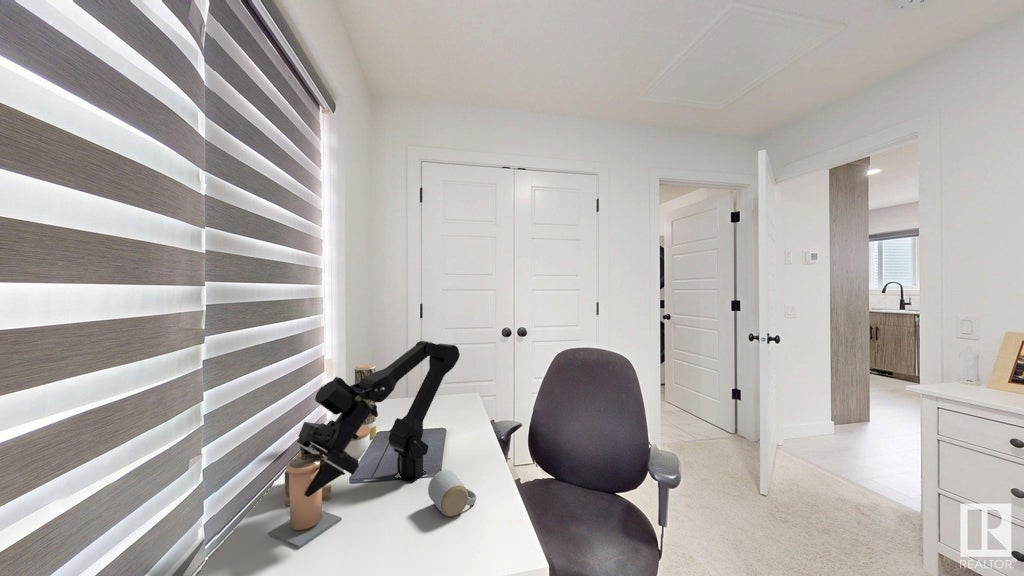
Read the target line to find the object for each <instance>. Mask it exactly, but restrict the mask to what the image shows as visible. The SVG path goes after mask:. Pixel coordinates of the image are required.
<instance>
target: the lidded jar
mask: <svg viewBox="0 0 1024 576" xmlns="http://www.w3.org/2000/svg"><path fill="white" fill-rule="evenodd" d="M356 435H358V438H357V439H356V440H355V439H352V440H351V441H350V443H349V444H348V446H347V447H346V449H345V450H344V451H345V452H347V454H348V455H350V456H351V457H353V458H355V459H356V460H358V459H359V458H361V457H363V455H364V453H365V452H366V451H367V449H368V447H369V444H370V442H371V441H370V440H371V439H370V427H368V426H365V425H362V426H361V427H360V429H359V430H358V432H357V433H356Z"/></svg>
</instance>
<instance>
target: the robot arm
mask: <svg viewBox="0 0 1024 576" xmlns="http://www.w3.org/2000/svg"><path fill="white" fill-rule="evenodd" d="M428 357H429V359H428V362H429V363H428V364H429V368H428V370H427V373H426V375H425V376H424V378H423V380H422V383H421V384H420V387H419V389H418V390H417V393H416V395H415V397H414V399H413V401H412V404H411V405H410V407H409V409H408V411H407V414H406V415H404V416H403V417H402V418H399V417H397V418H396V419H395V420H394V423H393V425H392V427H391V429H390V430H389V431H388V433H389V436H388V443H389V445H390V447H391V448H393V451H394V453H398V454H397V459H396V461H397V463H396V464H397V465H396V466H397V467H396V469H397V474H398V473H399V474H400V476H401V478H400V477H398V478H400V479H399V480H400V481H404V482H408V483H414V482H415V481H417V480H418V479H420V478H421V477H422V476H423V475H422V474H423V473H424V472H426V471H424V470H423V469H424V456H425V455H427V454H428V450H429V445H428V444H427V443H426V442H424V441H423V440H422V437H423V435H424V420H425V418H426V416H427V414H428V412H429V409H430V407H431V405H432V402H433V401H434V399H435V396H436V394H437V392H438V390H439V388H440V386H441V383H442V381H443V379H444V377H445V375H446V374H448V373H449V372H451V370H452V369H454V368H455V366H456V364H457V362H458V360H459V358H460V349H459V347H457V346H456V345H454V344H450V343H449V344H448V343H447V344H446V343H433V342H431V341H426V340H425V341H424V340H419V341H418V342H416V344H415V345H414V346H413V347H411V348H410V349H408V351H406V352H405V353H404V354H402V355H401V356H399V358H397V359H396V360H394V361H393V362H392V363H390V364H389V365H388V366H387V367H385V368H383V369H380V370H377V371H376V372H374V373H372V374H370V375H368V376H366V377H364V378H363V379H362V380H361V381H360V382H359V383H356V384H355V383H354V384H352V385H348V384H347V383H346V381H345V380H344V379H343V378H341V377H339V376H334V378H333V380H331V381H329V382H327V383H326V384H324V385H323V386H321V387H320V388H319V390H318V391H317V392H316V394H315V397H314V400H315V402H316V403H317V404H319V405H320V406H322V407H323V408H325V409H326V410H328V411H329V412H330V413H331V414H333V415H335V416H336V415H339V416H338V417H337V418H336V420H332V419H331V420H329V421H328V422H327V423H323V422H322V423H314V422H308V421H304V422H303V424H302V426H301V429H300V430H299V431H300V432H299V434H298V440H297V441H296V443H298V444H299V445H301V446H299V450H301V454H302V456H303V455H307V454H321V455H323V456H324V457H326V460H327V461H326V460H325V459H324V460H322V459H321V458H320V469H319V471H318V472H317V474H316V475H315V477H314V479H313V480H312V482H311V483H310V485H309V487H308V488H307V490H306V492H305V494H304V495H305V496H307V497H309V496H311V495H312V494H314V493H315V492H316V491H318V490H319V489H321V488H322V487H324V486H325V485H329V484H330V483H331V482H333V481H334V480H336V479H337V478H339V477H340V476H345V475H346V473H345V472H347V473H349V474H351V475H352V476H354V474H355V473H356V471H357V470H358V468H359V465H360V464H359V460H358V459H355V458H353V457H351V456H350V455H348V454H347V452H345V451H344V450H345V449H346V447H347V446H348V444H349V443H350V441H351V440H352V439H355V440H356V439H357V438H358V435H356V433H357V432H358V430H359V429H360V427H361V426H362V424H363V423H364V422H365V420H366V419H367V417H368V416H369V415H371V416H374V417H376V418H378V416H379V413H378V406H377V404H376V405H373V404H371V405H369V404H368V403H367V402H365V401H364V400H359V401H358V400H356V399H355V398H356V397H359V398H362V399H365V400H369V401H372V402H376V403H382V402H384V401H385V400H386V399H387V398H388V397H389V396H390V395H391V393H393V391H394V390H395V388H396V385H397V383H399V381H400V380H401V379H402V378H404V377H405V376H406V375H407V374H408V373H410V372H411V371H412V370H413V369H414V368H416V367H417V366H418V365H419V364H421V363H422V362H423V361H424V360H426V359H427V358H428ZM423 471H424V472H423ZM426 473H427V472H426ZM421 475H422V476H421ZM420 476H421V477H420Z"/></svg>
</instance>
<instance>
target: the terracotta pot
mask: <svg viewBox="0 0 1024 576" xmlns="http://www.w3.org/2000/svg"><path fill="white" fill-rule="evenodd" d="M295 457H296V456H295ZM295 457H294V458H292V459H290V460H289V461H288V462H287V463H286V465H285V466H286V467H285V471H287V473H289V492H290V505H289V520H290V527H291V528H292V529H295V530H302V529H307V528H309V527H312V526H314V525H316V524H317V523H318V522H320V520H321V519H322V517H323V513H322V510H323V500H322V488H321V489H319V490H318V491H316V492H315V493H314V494H312V495H311V496H309V497H307V496H305V495H304V494H305V492H306V490H307V488H308V487H309V485H310V483H311V482H312V480H313V479H314V477H315V475H316V474H317V472H318V471H319V469H320V458H321V459H322V460H324V461H325V456H324V455H321V454H307V455H303V456H299V457H296V458H295Z"/></svg>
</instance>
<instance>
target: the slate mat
mask: <svg viewBox="0 0 1024 576" xmlns="http://www.w3.org/2000/svg"><path fill="white" fill-rule="evenodd" d="M322 513H323V517H322V519H321V520H320V522H318V523H317V524H316V525H314V526H312V527H309V528H307V529H302V530H295V529H292V528H291V527H290V519H289V520H287V521H285V522H283V523H281V524H280V525H278V526H277V527H275V528H273V529H271V530H269V531H268V532H267V533H268V534H267V535H268V537H269V536H270V537H272V538H274V539H276V540H278V541H281V542H282V543H285V544H287V545H289V546H292V547H293V548H296V549H298V550H301V548H303V547H304V546H306V545H308V544H309V543H310V542H311V541H313V540H315V539H316V538H317V537H319V536H320V535H322V534H323V533H325V532H327V531H328V530H329V529H331V528H332V527H333V526H336V524H338V523H339V522H341V521H342V517H341V516H339V515H336V514H334V513H331V512H327V511H325V510H323V509H322Z"/></svg>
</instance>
